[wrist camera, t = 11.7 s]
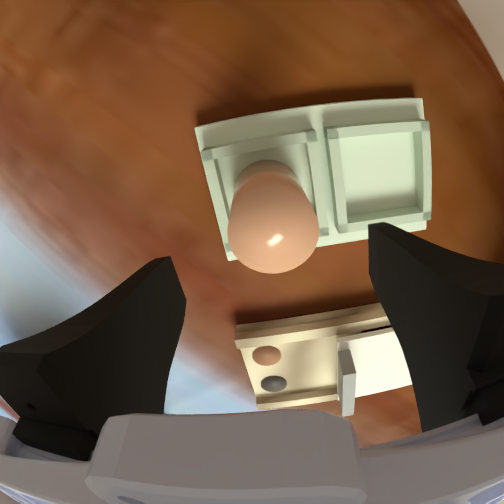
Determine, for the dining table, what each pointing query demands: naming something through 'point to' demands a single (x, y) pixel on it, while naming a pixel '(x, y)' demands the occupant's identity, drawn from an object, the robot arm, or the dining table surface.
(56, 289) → the dining table surface
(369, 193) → the socket board
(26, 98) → the dining table surface
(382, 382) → the lid
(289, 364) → the plate
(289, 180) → the peg
